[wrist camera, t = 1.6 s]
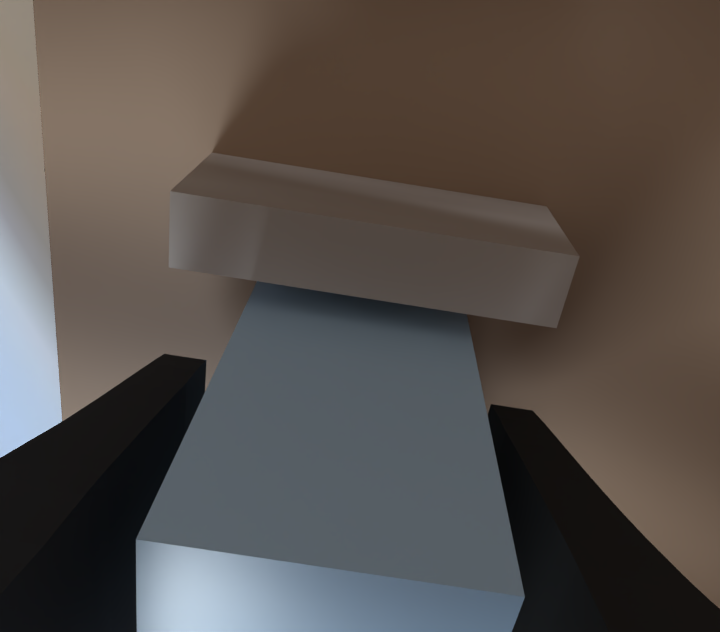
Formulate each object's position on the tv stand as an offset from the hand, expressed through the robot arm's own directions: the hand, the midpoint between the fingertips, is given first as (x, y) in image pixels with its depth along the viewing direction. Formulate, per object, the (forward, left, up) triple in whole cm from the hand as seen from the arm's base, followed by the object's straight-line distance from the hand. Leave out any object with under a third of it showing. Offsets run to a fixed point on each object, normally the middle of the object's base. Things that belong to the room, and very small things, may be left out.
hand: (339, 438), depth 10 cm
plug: (0, 0, -2) cm, 2 cm away
